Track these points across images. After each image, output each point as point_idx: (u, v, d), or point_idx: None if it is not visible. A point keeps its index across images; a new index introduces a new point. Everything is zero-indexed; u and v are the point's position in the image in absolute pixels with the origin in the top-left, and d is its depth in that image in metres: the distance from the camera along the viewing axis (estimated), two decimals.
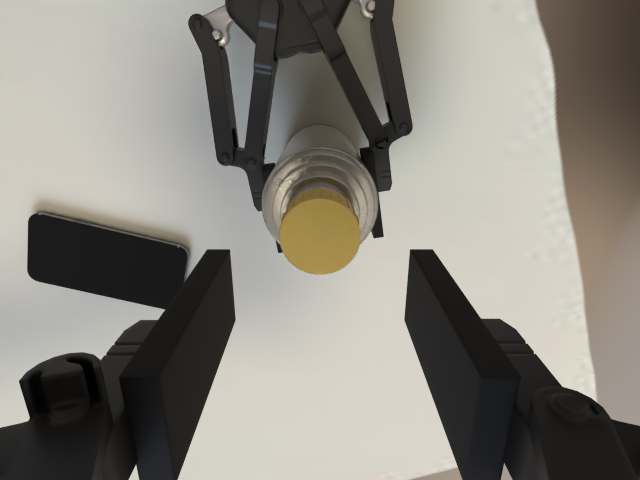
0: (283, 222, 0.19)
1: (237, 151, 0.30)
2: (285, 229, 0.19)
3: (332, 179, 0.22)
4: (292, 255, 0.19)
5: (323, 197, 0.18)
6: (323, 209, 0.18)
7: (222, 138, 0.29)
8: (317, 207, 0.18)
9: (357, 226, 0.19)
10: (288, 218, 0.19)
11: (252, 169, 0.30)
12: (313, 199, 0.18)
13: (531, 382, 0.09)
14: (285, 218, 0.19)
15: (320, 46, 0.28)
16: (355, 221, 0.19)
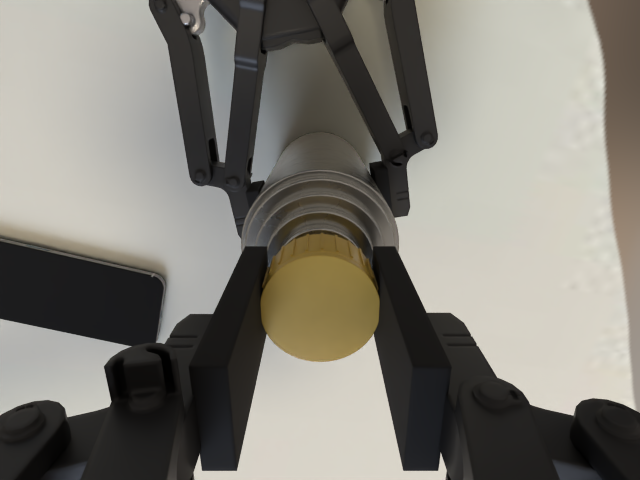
0: (265, 289, 0.12)
1: (216, 167, 0.24)
2: (268, 299, 0.13)
3: (337, 216, 0.15)
4: (279, 335, 0.13)
5: (325, 253, 0.12)
6: (325, 271, 0.12)
7: (196, 152, 0.23)
8: (316, 268, 0.12)
9: (376, 295, 0.12)
10: (272, 284, 0.12)
11: (235, 190, 0.24)
12: (310, 256, 0.12)
13: (467, 372, 0.09)
14: (268, 284, 0.12)
15: (320, 34, 0.21)
16: (373, 288, 0.12)
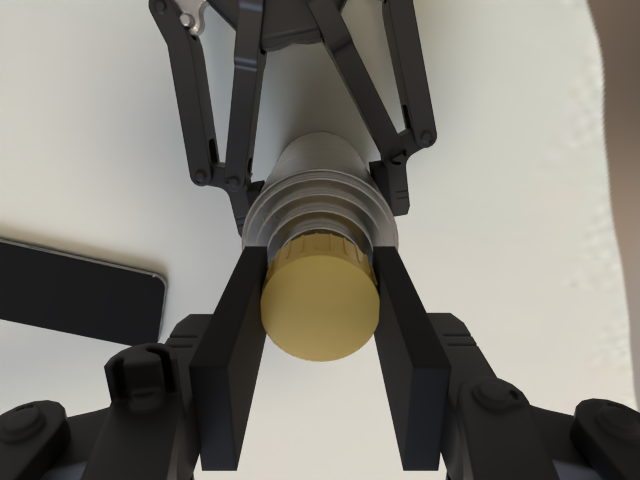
0: (326, 360, 0.13)
1: (216, 168, 0.24)
2: (334, 353, 0.13)
3: (337, 215, 0.15)
4: (364, 329, 0.13)
5: None
6: (280, 326, 0.13)
7: (196, 152, 0.23)
8: (282, 334, 0.13)
9: (275, 275, 0.12)
10: (317, 357, 0.13)
11: (235, 190, 0.24)
12: (275, 342, 0.13)
13: (467, 373, 0.09)
14: (319, 360, 0.13)
15: (319, 34, 0.21)
16: (270, 282, 0.12)
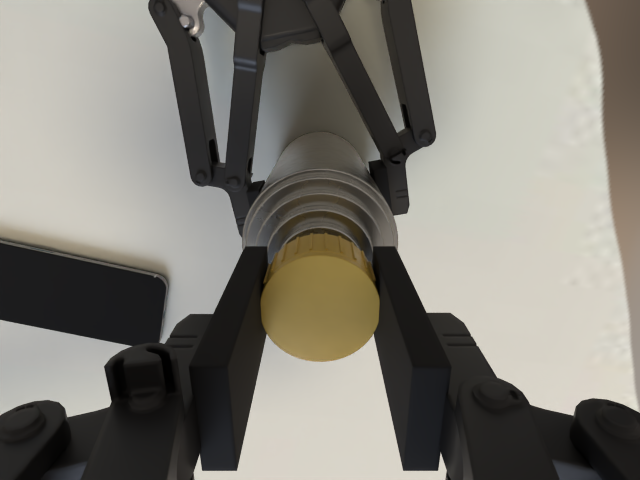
0: (368, 279, 0.12)
1: (216, 168, 0.24)
2: (357, 276, 0.12)
3: (336, 214, 0.16)
4: (315, 265, 0.12)
5: None
6: (355, 333, 0.13)
7: (197, 152, 0.23)
8: (362, 328, 0.13)
9: (309, 358, 0.13)
10: (369, 288, 0.12)
11: (235, 190, 0.24)
12: (374, 328, 0.13)
13: (467, 372, 0.09)
14: (372, 284, 0.12)
15: (318, 34, 0.22)
16: (317, 360, 0.13)
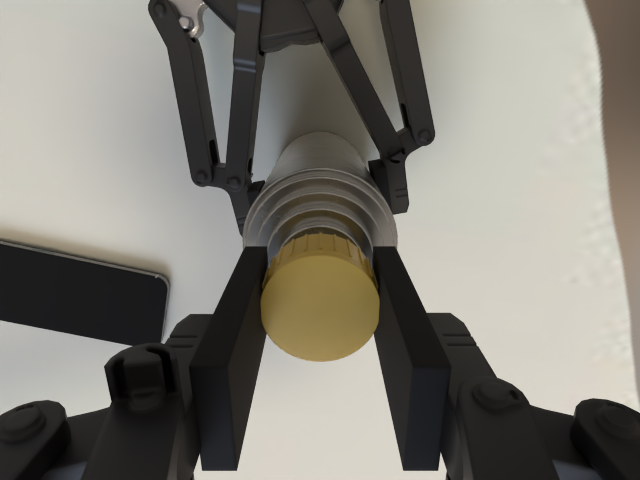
0: (264, 290, 0.12)
1: (217, 168, 0.24)
2: (268, 300, 0.13)
3: (336, 213, 0.16)
4: (280, 336, 0.13)
5: (324, 252, 0.12)
6: (324, 271, 0.12)
7: (197, 153, 0.24)
8: (315, 268, 0.12)
9: (376, 294, 0.12)
10: (272, 284, 0.12)
11: (236, 190, 0.24)
12: (308, 256, 0.12)
13: (467, 372, 0.09)
14: (267, 285, 0.12)
15: (317, 35, 0.22)
16: (373, 287, 0.12)
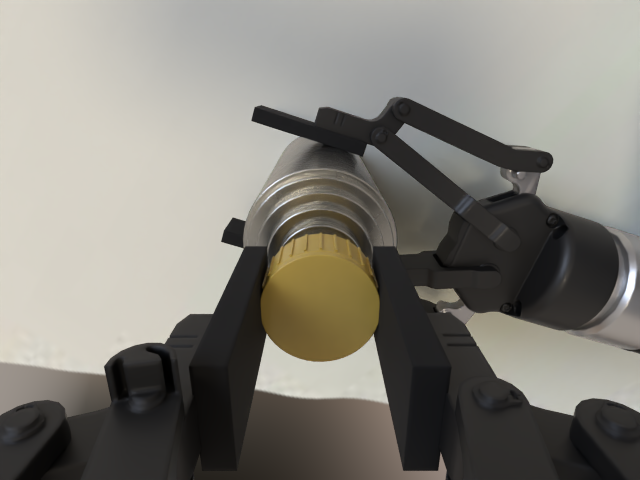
0: (264, 290, 0.12)
1: (400, 125, 0.24)
2: (268, 300, 0.13)
3: None
4: (280, 336, 0.13)
5: (324, 252, 0.12)
6: (324, 271, 0.12)
7: (425, 119, 0.23)
8: (315, 268, 0.12)
9: (376, 294, 0.12)
10: (272, 284, 0.12)
11: (373, 134, 0.23)
12: (309, 256, 0.12)
13: (467, 373, 0.09)
14: (267, 284, 0.12)
15: (446, 264, 0.26)
16: (373, 287, 0.12)
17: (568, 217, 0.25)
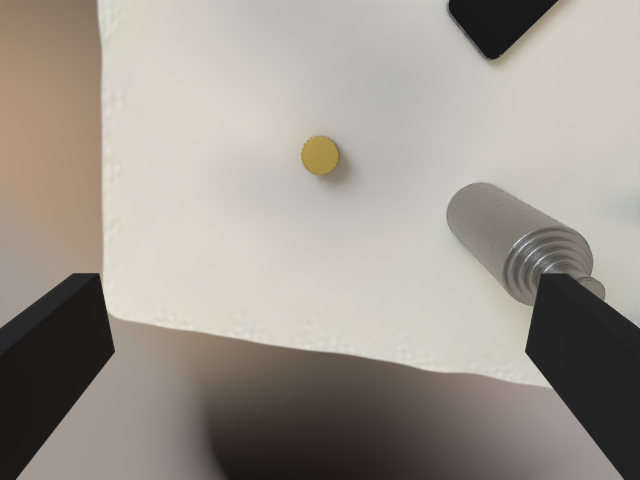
0: (303, 149, 0.41)
1: None
2: (304, 152, 0.41)
3: None
4: (307, 165, 0.42)
5: (321, 137, 0.41)
6: (321, 142, 0.41)
7: None
8: (318, 142, 0.41)
9: (336, 150, 0.41)
10: (305, 147, 0.41)
11: None
12: (316, 138, 0.41)
13: None
14: (304, 147, 0.41)
15: None
16: (335, 148, 0.41)
17: None
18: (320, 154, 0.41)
